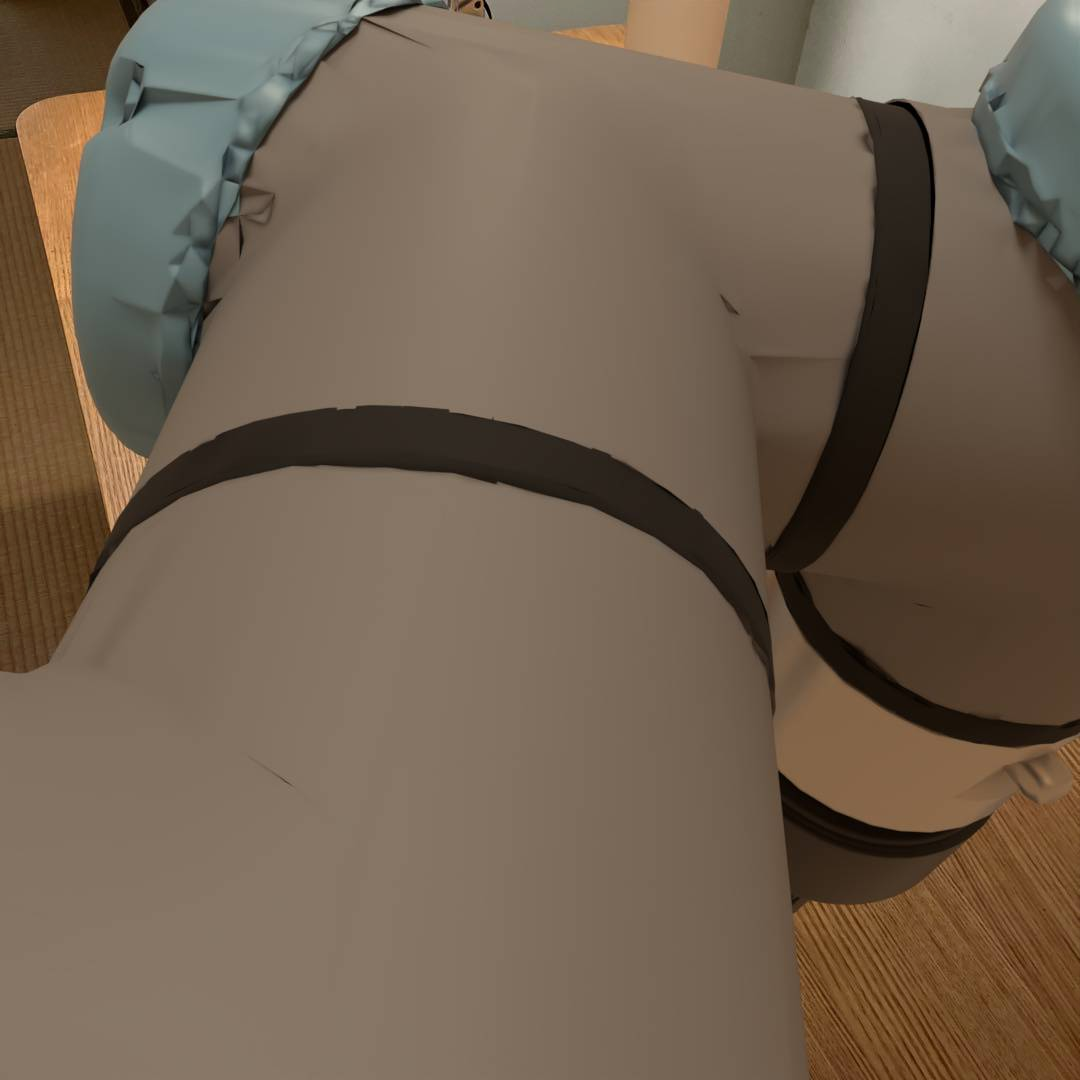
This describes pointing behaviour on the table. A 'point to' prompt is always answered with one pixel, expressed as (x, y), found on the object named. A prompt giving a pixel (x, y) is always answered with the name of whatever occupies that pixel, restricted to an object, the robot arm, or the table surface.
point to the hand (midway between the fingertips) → (636, 996)
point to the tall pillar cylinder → (678, 29)
